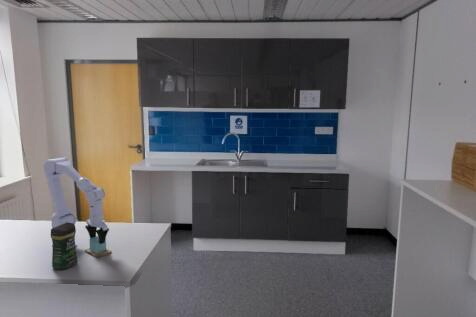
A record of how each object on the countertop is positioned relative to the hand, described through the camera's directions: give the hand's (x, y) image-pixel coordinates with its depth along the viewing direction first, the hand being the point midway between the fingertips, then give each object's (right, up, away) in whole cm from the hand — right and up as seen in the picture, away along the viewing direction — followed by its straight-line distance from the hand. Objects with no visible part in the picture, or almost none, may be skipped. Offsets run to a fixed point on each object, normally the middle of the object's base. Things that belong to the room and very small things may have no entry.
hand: (97, 241), depth 155 cm
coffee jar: (-9, -8, -13) cm, 17 cm away
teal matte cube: (0, -5, +1) cm, 5 cm away
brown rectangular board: (0, -6, +1) cm, 6 cm away
